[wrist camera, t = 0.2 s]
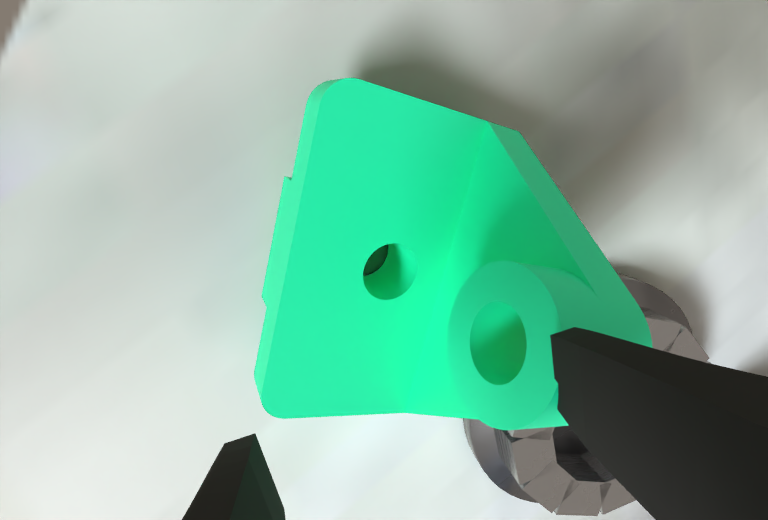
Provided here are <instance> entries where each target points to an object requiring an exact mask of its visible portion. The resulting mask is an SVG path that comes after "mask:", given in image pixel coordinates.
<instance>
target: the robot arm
mask: <svg viewBox="0 0 768 520" xmlns="http://www.w3.org/2000/svg"><path fill="white" fill-rule="evenodd" d="M550 338H551V348H552V358H553V369H554V379H555V380H556V381H557V383H558V405H557V410H558V411H559V412H560V414H561V415H562V417H563V418H564V419H565V421H566V422H567V423H568V425H569V426H570V427H571V429H572V430H573V431H574V433H575V434H576V435H577V437H578V438H579V439H580V440H581V442H582V443H583V444H584V446H585V447H586V448H587V449H588V450H589V451H590V452H591V453H592V454H593V456H594V457H595V458H596V459H597V460H598V461H599V462H600V463H601V464H602V465H603V466H604V467H605V468H606V469H607V470H608V471H609V472H610V473H611V474H612V475H613V476H614V477H615V479H616V480H617V481H618V482H619V483H620V484H621V485H622V486H623V487H624V488H625V489H626V490H627V491H628V492H629V493H630V494H631V495H632V496H633V497H634V498H635V499H636V500H637V501H638V502H639V503H640V504H641V505H642V506H643V507H644V508H645V509H646V510H647V511H648V512H649V513H650V514H651V515H652V516H653V517H654V518H655V519H656V520H768V377H766V376H761V375H756V374H752V373H747V372H743V371H739V370H735V369H731V368H726V367H722V366H718V365H714V364H710V363H706V362H702V361H698V360H694V359H691V358H687V357H683V356H679V355H676V354H672V353H669V352H665V351H661V350H658V349H654V348H651V347H647V346H644V345H640V344H637V343H634V342H630V341H627V340H623V339H620V338H616V337H613V336H609V335H606V334H602V333H598V332H594V331H591V330H586V329H582V328H577V327H573V328H570V329H567V330H564V331H561V332H558V333H555V334H552V335H550ZM182 520H285V512H284V507H283V505H282V502H281V499H280V497H279V494H278V492H277V489H276V486H275V484H274V481H273V479H272V476H271V473H270V471H269V468H268V466H267V463H266V460H265V458H264V455H263V453H262V450H261V447H260V445H259V442H258V440H257V437H256V434H252V435H249V436H246V437H243V438H240V439H237V440H234V441H231V442H228V443H225V444H224V446H223V447H222V449H221V451H220V452H219V454H218V456H217V458H216V459H215V461H214V463H213V465H212V467H211V469H210V470H209V472H208V474H207V476H206V478H205V480H204V481H203V483H202V485H201V487H200V489H199V491H198V492H197V494H196V496H195V498H194V500H193V501H192V503H191V505H190V507H189V508H188V510H187V512H186V514H185V515H184V517H183V519H182Z"/></svg>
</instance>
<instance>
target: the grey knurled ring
mask: <svg viewBox="0 0 768 520" xmlns="http://www.w3.org/2000/svg"><path fill="white" fill-rule="evenodd" d="M617 275H618V276H619V277H620V279H621V280H622V282H623V283H624V285H625V286H626V288H627V289H628V291H629V292H630V293H631V295H632V296H633V298H634V299H635V301H636V302H637V304H638V305H639V307H640V308H641V310H642V312H643V314H644V316H645V318H646V321H647V323H648V326H649V330H650V334H651V338H652V346H653V348H654V349H658V350H661V351H665V352H669V353H672V354H676V355H679V356H683V357H687V358H691V359H694V360H698V361H702V362H706V363H710V362H708V361H707V360H708V359H709V357H708V356H707V354H706V353H705V352H704V350H703V349H702V348H701V346H700V345H699V344H698V342H697V341H696V340H695V338H694V337H693V335H692V331H691V328H690V326H689V323H688V321H687V319H686V317H685V315H684V314H683V312H682V310H681V309H680V308H679V306H678V305H677V304H676V303H675V302H674V301H673V300H672V299H671V298H670V297H669V296H667V295H666V294H665V293H663V292H662V291H660V290H658V289H657V288H655V287H653V286H651V285H649V284H646V283H644V282H641V281H639V280H637V279H634V278H631V277H628V276H625V275H621V274H617ZM710 364H711V363H710ZM463 423H464V429H465V434H466V437H467V440H468V443H469V446H470V448H471V450H472V452H473V454H474V455H475V457H476V459H477V460H478V462H479V464H480V465H481V467H482V469H483V470H484V471H485V473H486V474H487V475H488V477H489V478H490V479H491V480H492V481H493V482H494V483H495V484H496V485H497V486H498V487H499V488H501V489H502V490H504V491H506V492H507V493H509V494H510V495H513V496H515V497H517V498H520V499H523V500H526V501H530V502H535V503H540V504H541V505H542V506H543V507H545V508H546V509H547V510H548V511H550V512H551V513H552V512H553V511H554V512H555V513H556V515H584V516H597V515H598V513H599V511H600V512H601V513H602V514H606V513H608V512H610V511H612V510H615V509H617V508H619V507H621V506H624V505H626V504H628V503H631V502H633V501H635V500H636V499H635V498H634V497H633V496H632V495H631V494H630V493H629V492H628V491H627V490H626V489H625V488H624V487H623V486H622V485H621V484H620V483H619V482H618V481H617V480H616V479H615V477H614V476H613V475H612V474H611V473H610V472H609V471H608V470H607V469H606V468H605V467H604V466H603V465H602V464H601V463H600V462H599V461H598V460H597V459H596V458H595V457H594V456H593V454H592V453H591V452H590V451H589V450H588V449H587V448H586V447H585V446H584V444H583V443H582V442H581V440H580V439H579V438H578V437H577V435H576V434H575V433H574V431H573V430H572V429H571V427H570V426H558V427H545V428H533V429H520V430H499V429H496V428H492V427H490V426H488V425H486V424H485V423H483V422H481V421H480V420H478V419H467V418H463Z"/></svg>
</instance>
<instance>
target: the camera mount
mask: <svg viewBox="0 0 768 520" xmlns="http://www.w3.org/2000/svg"><path fill="white" fill-rule="evenodd" d="M387 244H388V254H387V257H386V260H385V262H384V263H383V265H382V266H381V267H380V268H379V269H378V270H377V271H375V272H374V273H372V274H370V275H366V276H363V271H364V267H365V264H366V262H367V260H368V258H369V257H370V256H371V255H372V253H373V252H374V251H376V250H377V249H378V248H380V247H382V246H384V245H387ZM262 298H263V300H264V302H265V304H266V307H267V309H266V314H265V319H264V325H263V330H262V335H261V340H260V345H259V350H258V355H257V361H256V366H255V371H254V378H255V382H256V385H257V389H258V392H259V395H260V399H261V402H262V405H263V407H264V409H265V410H266V411H267V412H268V413H269V414H270V415H272V416H274V417H277V418H306V417H327V416H347V415H368V414H388V413H413V414H424V415H434V416H445V417H456V418H467V419H478V420H480V421H481V422H483V423H485V424H486V425H488V426H490V427H492V428H496V429H499V430H520V429H533V428H545V427H558V426H569V425H568V423H567V422H566V421H565V419H564V418H563V417H562V415H561V414H560V412H559V411H558V410H557V405H558V383H557V381H556V380H555V379H554V369H553V358H552V348H551V338H550V335H552V334H555V333H558V332H561V331H564V330H567V329H570V328H573V327H577V328H582V329H586V330H591V331H594V332H598V333H602V334H606V335H609V336H613V337H616V338H620V339H623V340H627V341H630V342H634V343H637V344H640V345H644V346H647V347H651V348H653V346H652V338H651V334H650V330H649V326H648V323H647V321H646V318H645V316H644V314H643V312H642V310H641V308H640V307H639V305H638V304H637V302H636V301H635V299H634V298H633V296H632V295H631V293H630V292H629V291H628V289H627V288H626V286H625V285H624V283H623V282H622V280H621V279H620V277H619V276H618V275H617V273H616V272H615V270H614V269H613V267H612V266H611V264H610V263H609V261H608V260H607V259H606V257H605V256H604V254H603V253H602V251H601V250H600V248H599V247H598V245H597V244H596V243H595V241H594V240H593V238H592V237H591V235H590V234H589V232H588V231H587V229H586V228H585V227H584V225H583V224H582V222H581V221H580V219H579V218H578V216H577V215H576V213H575V212H574V211H573V209H572V208H571V206H570V205H569V203H568V202H567V200H566V199H565V198H564V196H563V195H562V193H561V192H560V190H559V189H558V187H557V186H556V184H555V183H554V182H553V180H552V179H551V177H550V176H549V174H548V173H547V171H546V170H545V168H544V167H543V166H542V164H541V163H540V161H539V160H538V158H537V157H536V155H535V154H534V152H533V151H532V150H531V148H530V147H529V145H528V144H527V142H526V141H525V139H524V138H523V136H522V135H521V134H520V132H519V131H516V130H513V129H510V128H507V127H504V126H501V125H498V124H495V123H492V122H488V121H485V120H482V119H479V118H476V117H473V116H470V115H467V114H464V113H461V112H458V111H455V110H452V109H449V108H446V107H443V106H440V105H437V104H434V103H430V102H427V101H424V100H421V99H418V98H415V97H412V96H409V95H406V94H403V93H400V92H397V91H394V90H391V89H388V88H385V87H382V86H379V85H376V84H373V83H369V82H366V81H363V80H360V79H356V78H345V79H337V80H330V81H326V82H324V83H322V84H320V85H318V86H317V87H316V88H315V89H314V90H313V91H312V93H311V94H310V96H309V98H308V101H307V104H306V109H305V114H304V119H303V124H302V129H301V134H300V140H299V145H298V150H297V155H296V160H295V165H294V170H293V176H292V178H290V177H284V182H283V187H282V192H281V198H280V203H279V208H278V213H277V219H276V224H275V229H274V234H273V240H272V245H271V250H270V255H269V261H268V266H267V271H266V276H265V282H264V287H263V292H262Z"/></svg>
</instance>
